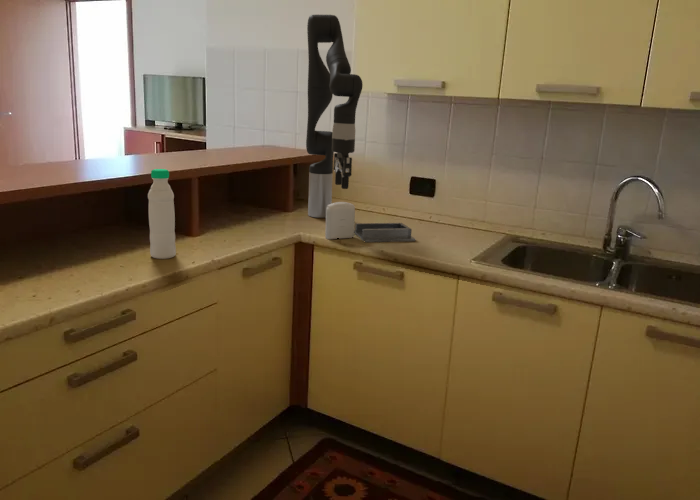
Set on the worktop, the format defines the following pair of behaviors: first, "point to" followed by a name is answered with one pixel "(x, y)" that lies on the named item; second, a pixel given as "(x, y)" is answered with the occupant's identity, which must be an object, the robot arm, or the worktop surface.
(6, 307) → the worktop surface
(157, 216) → the water bottle
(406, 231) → the bracket
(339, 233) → the photo printer
